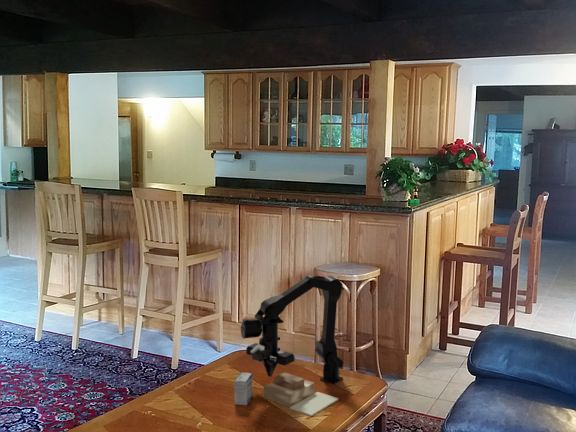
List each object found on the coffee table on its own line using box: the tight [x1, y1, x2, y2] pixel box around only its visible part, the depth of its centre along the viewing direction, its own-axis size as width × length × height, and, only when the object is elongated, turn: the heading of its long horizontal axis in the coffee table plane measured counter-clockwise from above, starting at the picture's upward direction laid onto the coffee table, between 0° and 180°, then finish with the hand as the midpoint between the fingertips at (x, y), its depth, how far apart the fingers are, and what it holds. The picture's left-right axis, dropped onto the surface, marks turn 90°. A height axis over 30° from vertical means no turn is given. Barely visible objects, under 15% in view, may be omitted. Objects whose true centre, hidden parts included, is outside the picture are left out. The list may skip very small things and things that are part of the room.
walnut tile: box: [273, 371, 305, 391], centre depth 214 cm, size 9×6×2 cm, turn 52°
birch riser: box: [263, 379, 315, 408], centre depth 214 cm, size 14×12×4 cm
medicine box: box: [233, 372, 253, 406], centre depth 210 cm, size 8×4×9 cm, turn 168°
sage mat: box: [289, 391, 339, 417], centre depth 208 cm, size 16×9×1 cm, turn 142°
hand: (270, 376), depth 219 cm, fingers closed
